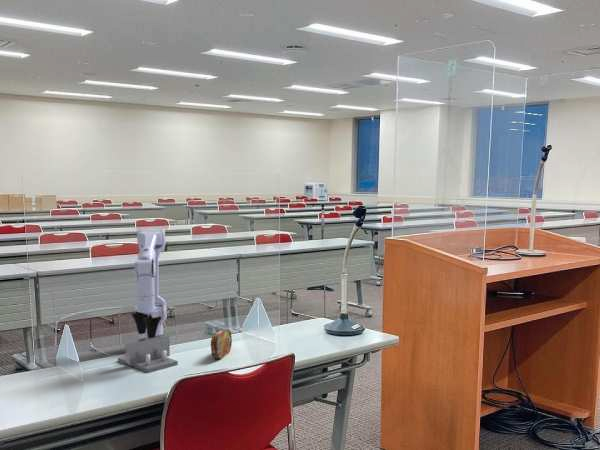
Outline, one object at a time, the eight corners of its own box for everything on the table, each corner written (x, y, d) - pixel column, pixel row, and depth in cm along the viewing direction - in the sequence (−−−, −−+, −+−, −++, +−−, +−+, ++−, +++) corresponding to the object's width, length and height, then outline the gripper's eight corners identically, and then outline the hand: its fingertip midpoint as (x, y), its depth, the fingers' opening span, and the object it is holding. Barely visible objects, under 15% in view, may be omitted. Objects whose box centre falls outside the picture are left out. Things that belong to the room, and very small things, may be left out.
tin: (218, 361, 179) (217, 337, 179) (209, 361, 180) (208, 336, 179) (232, 349, 194) (232, 326, 193) (224, 349, 194) (224, 326, 194)
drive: (125, 362, 176) (125, 341, 175) (165, 354, 185) (164, 334, 184) (130, 364, 173) (129, 343, 173) (169, 356, 182) (169, 335, 182)
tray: (117, 361, 181) (117, 348, 181) (146, 354, 189) (146, 341, 189) (148, 372, 168) (147, 358, 168) (177, 364, 176) (177, 351, 176)
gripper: (166, 296, 175) (167, 337, 175) (147, 291, 186) (148, 329, 186) (146, 299, 170) (147, 341, 171) (128, 293, 181) (129, 333, 182)
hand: (146, 335), depth 178 cm, fingers open, 7 cm apart
